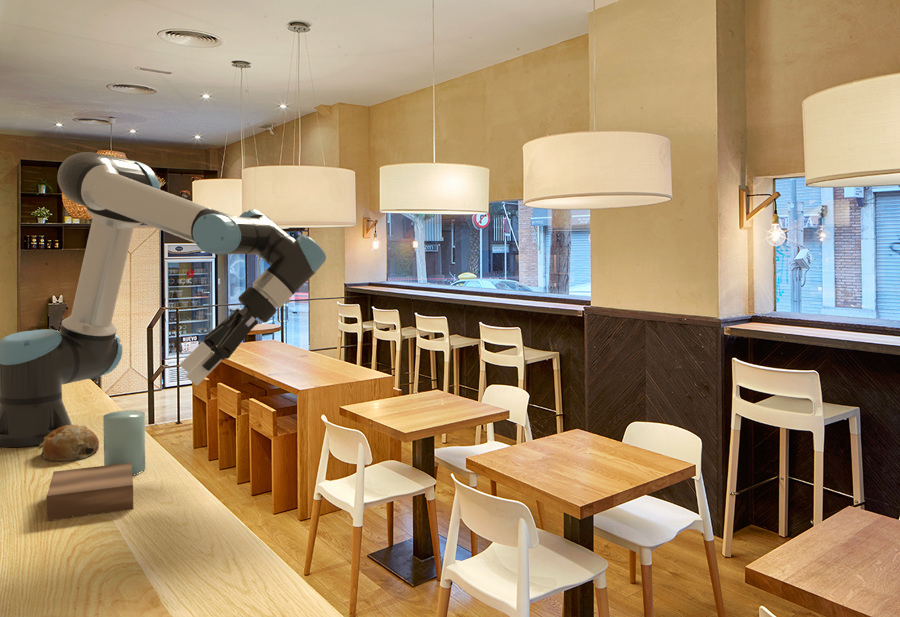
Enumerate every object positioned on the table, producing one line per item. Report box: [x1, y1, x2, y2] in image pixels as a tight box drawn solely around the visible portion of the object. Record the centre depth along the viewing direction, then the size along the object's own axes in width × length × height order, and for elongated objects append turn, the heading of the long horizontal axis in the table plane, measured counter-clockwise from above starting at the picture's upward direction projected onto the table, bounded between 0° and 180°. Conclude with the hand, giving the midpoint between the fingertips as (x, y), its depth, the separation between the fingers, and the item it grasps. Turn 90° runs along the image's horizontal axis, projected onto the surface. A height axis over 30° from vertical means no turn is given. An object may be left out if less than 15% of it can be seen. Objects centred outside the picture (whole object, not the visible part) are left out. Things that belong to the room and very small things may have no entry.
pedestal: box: [46, 463, 134, 522], centre depth 106 cm, size 12×12×4 cm
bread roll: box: [38, 424, 100, 462], centre depth 129 cm, size 10×10×8 cm
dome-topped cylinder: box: [102, 409, 146, 476], centre depth 121 cm, size 7×7×11 cm
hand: (187, 375), depth 124 cm, fingers open, 13 cm apart
